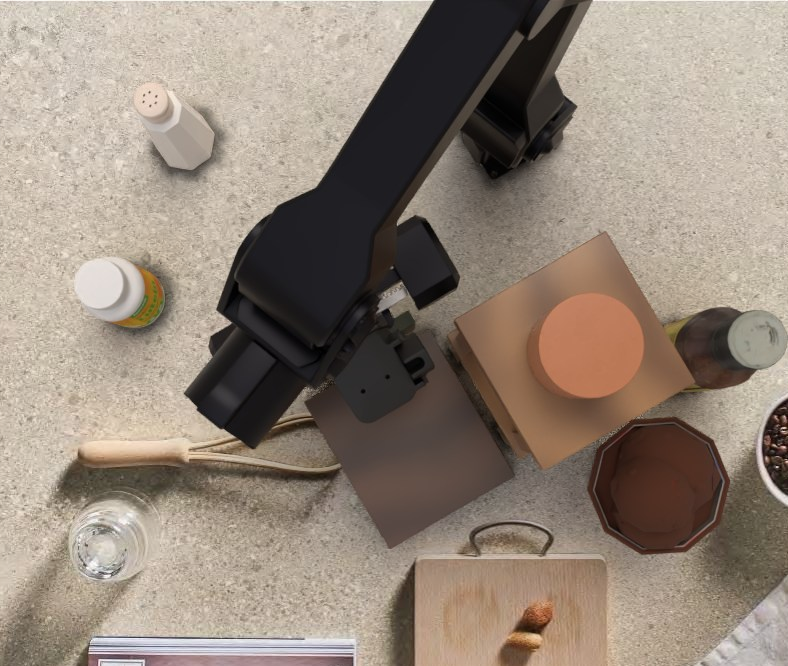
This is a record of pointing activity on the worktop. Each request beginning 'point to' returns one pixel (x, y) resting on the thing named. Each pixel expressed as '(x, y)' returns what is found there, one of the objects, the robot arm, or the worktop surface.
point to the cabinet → (414, 452)
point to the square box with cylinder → (515, 379)
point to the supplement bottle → (119, 292)
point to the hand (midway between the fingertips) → (343, 323)
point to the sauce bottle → (727, 345)
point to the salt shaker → (173, 126)
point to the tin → (586, 347)
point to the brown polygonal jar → (658, 485)
